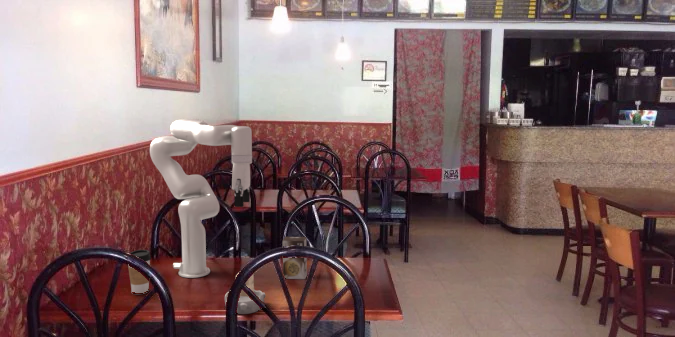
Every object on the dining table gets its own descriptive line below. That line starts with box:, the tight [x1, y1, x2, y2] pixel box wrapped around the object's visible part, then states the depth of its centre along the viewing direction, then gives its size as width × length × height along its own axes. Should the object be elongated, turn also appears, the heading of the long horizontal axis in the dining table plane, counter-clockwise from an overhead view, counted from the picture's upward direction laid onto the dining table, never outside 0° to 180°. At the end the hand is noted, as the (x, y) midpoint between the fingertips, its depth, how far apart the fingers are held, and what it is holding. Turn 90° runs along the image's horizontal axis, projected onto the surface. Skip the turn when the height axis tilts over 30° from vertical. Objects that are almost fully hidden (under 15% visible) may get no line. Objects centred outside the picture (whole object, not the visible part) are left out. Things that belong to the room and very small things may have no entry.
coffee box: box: [282, 236, 308, 280], centre depth 223 cm, size 9×6×16 cm
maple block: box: [235, 272, 255, 297], centre depth 190 cm, size 5×5×7 cm
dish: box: [224, 289, 266, 315], centre depth 190 cm, size 14×14×5 cm
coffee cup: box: [128, 249, 152, 294], centre depth 204 cm, size 8×8×15 cm
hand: (242, 204), depth 207 cm, fingers open, 9 cm apart
